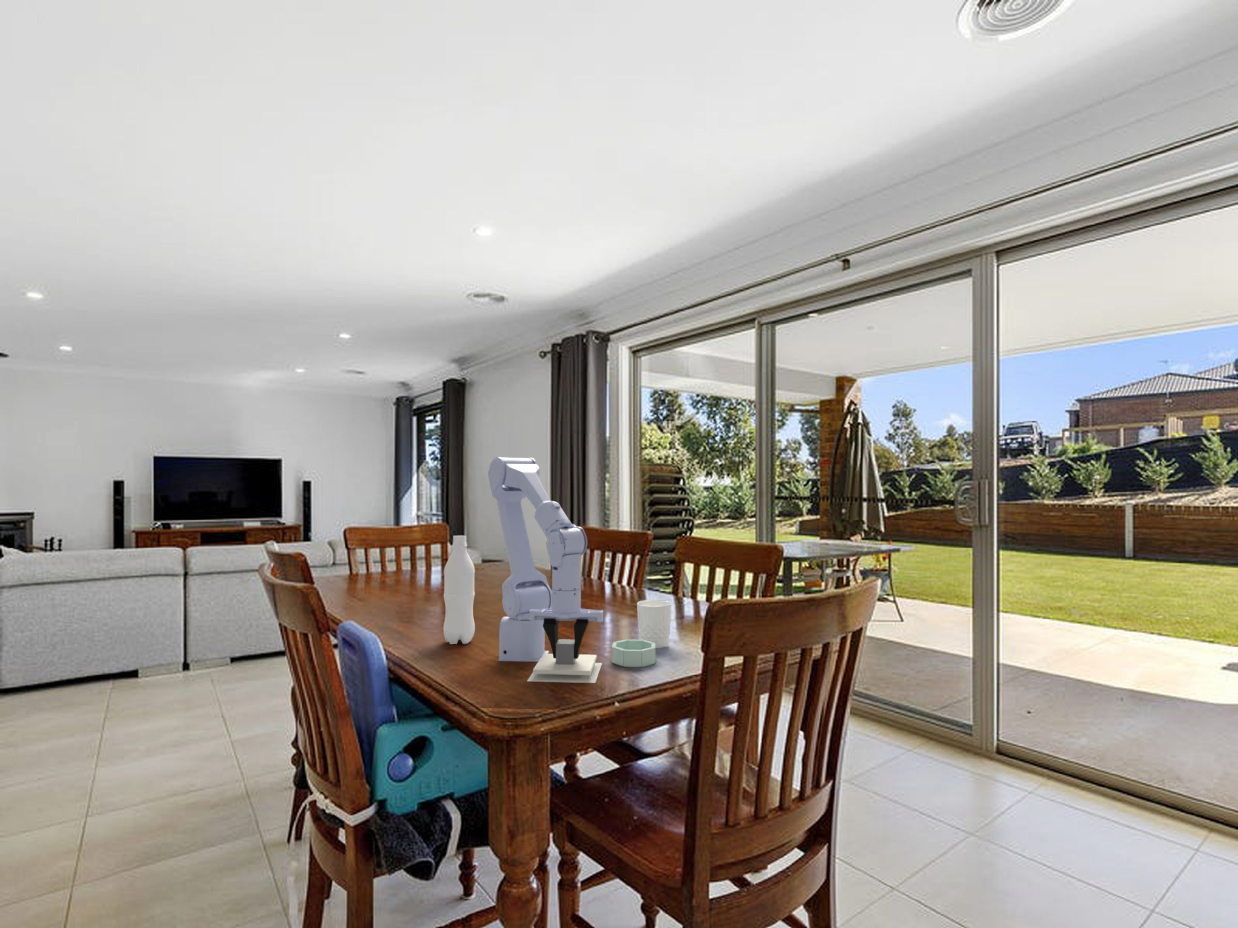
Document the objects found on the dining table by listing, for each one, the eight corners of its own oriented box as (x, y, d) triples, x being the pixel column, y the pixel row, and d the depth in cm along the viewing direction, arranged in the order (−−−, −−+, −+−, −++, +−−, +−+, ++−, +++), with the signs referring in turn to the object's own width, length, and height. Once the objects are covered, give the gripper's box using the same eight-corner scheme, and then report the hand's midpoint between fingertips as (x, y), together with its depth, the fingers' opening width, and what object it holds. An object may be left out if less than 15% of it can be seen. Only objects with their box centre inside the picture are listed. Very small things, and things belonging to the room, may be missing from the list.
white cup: (669, 651, 145) (669, 606, 146) (634, 649, 147) (634, 605, 147) (673, 642, 153) (673, 600, 153) (640, 641, 155) (640, 599, 155)
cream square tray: (526, 683, 123) (526, 680, 123) (540, 663, 136) (540, 661, 136) (595, 685, 122) (595, 682, 122) (602, 665, 135) (602, 662, 135)
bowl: (610, 669, 132) (610, 650, 132) (614, 657, 141) (614, 639, 141) (654, 670, 132) (654, 651, 132) (655, 658, 141) (655, 639, 141)
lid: (532, 673, 124) (533, 648, 124) (543, 657, 135) (544, 634, 135) (590, 675, 123) (590, 649, 123) (596, 658, 134) (596, 635, 134)
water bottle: (470, 646, 150) (471, 537, 150) (439, 646, 150) (440, 537, 150) (477, 638, 157) (478, 534, 157) (448, 638, 157) (448, 534, 158)
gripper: (526, 591, 126) (525, 661, 126) (600, 592, 125) (600, 663, 125) (533, 585, 133) (533, 651, 133) (604, 586, 132) (603, 653, 132)
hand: (566, 657), depth 129 cm, fingers closed on lid, 3 cm apart
